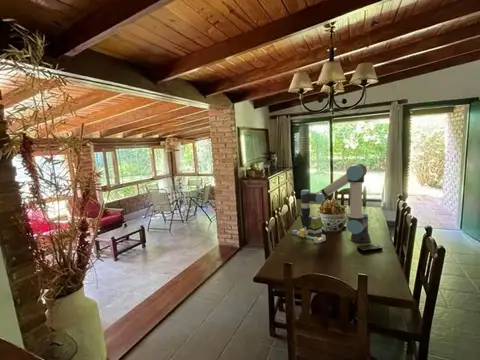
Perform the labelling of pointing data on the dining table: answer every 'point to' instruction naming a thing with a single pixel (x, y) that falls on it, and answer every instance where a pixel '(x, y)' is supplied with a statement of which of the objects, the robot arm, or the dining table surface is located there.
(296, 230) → the connector
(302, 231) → the sleeve
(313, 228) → the tea box
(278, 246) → the dining table surface
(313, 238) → the cord
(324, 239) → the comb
